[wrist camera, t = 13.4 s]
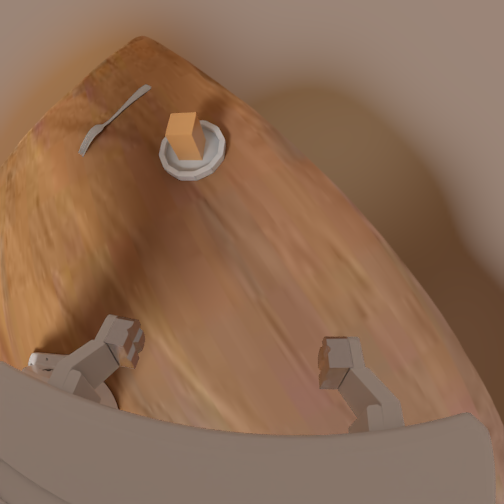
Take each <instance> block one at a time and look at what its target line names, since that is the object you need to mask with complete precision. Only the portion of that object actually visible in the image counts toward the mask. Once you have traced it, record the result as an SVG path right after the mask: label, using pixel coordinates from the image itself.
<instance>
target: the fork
mask: <svg viewBox="0 0 504 504" xmlns="http://www.w3.org/2000/svg"><path fill="white" fill-rule="evenodd" d="M150 89H151V87H150V86H149V85H147V84H146V85H143V86H142V87H141V88H139V89H138V90H137V91H136V92H135V93H134V94H133V95H132V96H131V97H130V98H129V99H128V100H127V102H126V103H125V104H124V105H123V106H122V107H121V108H120V109H119V110H118V111H117V112H116V113H115V114H114V115H113V116H112V117H111V118H110V119H109V120H108V121H107V122H106V123H104V124H101V125H95V126H94V127H92V128H91V129H90V130H89V132H88V133H87V135H86V137H85V138H84V141H83V143H82V145H81V147H80V150H81V148H82V150H83V151H82V150H81V152H82V154H83V156H84V154H85V152H86V150H87V148H88V146H89V145H90V143H91V141H92V140H93V138H94V137H95V136H96V135H97V134H98V133H99V132H101V131H102V130H103V128H104V127H105V126H106V125H107V124H109V123H110V122H111V121H112V120H113V119H114V118H115V117H117V116H118V115H119V114H120V113H121V112H122V111H123V110H124V109H125V108H126V107H128V106H129V105H130V104H131V103H132V102H134V101H135V100H136V99H138V98H139V97H140V96H142V95H143V94H144V93H146V92H147V91H149V90H150ZM88 135H89V136H88ZM91 137H92V138H91ZM86 138H87V139H86ZM85 140H86V141H85ZM87 140H88V141H87ZM89 140H90V141H89ZM84 142H85V143H84ZM86 142H87V143H86ZM88 142H89V143H88ZM83 144H84V145H83ZM85 144H86V145H85ZM87 144H88V145H87ZM82 146H83V147H82ZM84 146H85V147H84ZM86 146H87V147H86ZM83 148H84V149H83ZM85 148H86V149H85ZM80 150H79V152H80ZM84 150H85V151H84ZM81 152H80V154H81ZM83 152H84V153H83ZM82 154H81V155H82ZM83 156H82V157H83Z"/></svg>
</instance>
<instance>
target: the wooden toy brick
mask: <svg viewBox="0 0 504 504" xmlns="http://www.w3.org/2000/svg"><path fill="white" fill-rule="evenodd" d="M165 136H166V138H167V140H168V141H169V143H170V145H171V147H172V148H173V150H174V152H175V154H176V155H177V157H178V159H179V160H203V154H204V148H205V142H206V139H205V136H204V133H203V130H202V127H201V124H200V121H199V118H198V115H197V112H192V113H171V115H170V118H169V122H168V126H167V129H166V133H165Z"/></svg>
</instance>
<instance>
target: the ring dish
mask: <svg viewBox="0 0 504 504" xmlns="http://www.w3.org/2000/svg"><path fill="white" fill-rule="evenodd" d="M199 121H200V124H201V127H202V130H203V133H204V136H205V139H206V142H205V148H204V154H203V160H179V159H178V157H177V155H176V154H175V152H174V150H173V148H172V147H171V145H170V143H169V141H168V140H167V138H166V136H165V138H164V139H163V141H162V143H161V147H160V151H159V157H160V160H161V162H162V165H163V167H164V169H165V170H166V172H167V173H169V174H170V175H172V176H173V177H175V178H177V179H178V180H190V181H196V180H199V179H201V178H203V177H205V176H208V175H210V174H212V173H213V172H214V171H215V170H216V169H217V168H218V166H219V165H220V164H221V163H222V161H223V160H224V157H225V150H226V141H225V138H224V136H223V135H222V133H221V131H220V129H219V127H217V126H215V125H213V124H211V123H209V122H207V121H205V120H199Z"/></svg>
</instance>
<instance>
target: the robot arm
mask: <svg viewBox="0 0 504 504" xmlns="http://www.w3.org/2000/svg"><path fill="white" fill-rule="evenodd" d="M140 325H141V324H140V322H139V320H136V319H131V318H126V317H121V316H116V315H111V314H109V315H108V316H107V317H106V319H105V320H104V322H103V324H102V326H101V328H100V330H99V332H98V334H97V336H96V337H95V339H94V340H90V341H89V342H87V343H86V344H84V345H83V346H82V347H80V348H79V349H77V350H76V351H74V352H73V353H71V354H70V355H62V354H51V353H41V352H34V353H32V354H31V356H30V359H29V363H28V366H27V367H24V368H23V370H22V371H20V370H18V369H16V368H14V367H13V366H11V365H9V364H7V363H5V362H3V361H0V504H495V498H496V479H495V464H494V456H493V449H492V443H491V438H490V434H489V431H488V429H487V428H486V427H485V426H484V425H483V424H482V423H481V422H480V421H479V420H478V419H477V418H476V417H474V416H473V415H472V414H471V413H467V412H466V413H461V414H457V415H454V416H450V417H446V418H442V419H438V420H434V421H429V422H425V423H420V424H415V425H410V426H405V425H404V420H403V414H402V409H401V404H400V401H399V400H398V399H397V398H396V397H395V396H394V394H393V393H392V392H391V391H390V390H389V389H388V388H387V387H386V386H385V385H384V384H383V383H382V382H381V381H380V380H379V378H378V377H377V376H376V375H375V374H374V373H373V372H372V371H371V370H370V369H369V368H365V364H364V359H363V354H362V349H361V344H360V339H359V338H358V337H324V338H323V341H322V344H323V346H322V347H321V348H320V350H319V354H318V368H319V369H320V370H321V372H320V374H319V387H320V389H338V391H339V392H340V394H341V395H342V397H343V398H344V399H345V401H346V402H347V404H348V405H349V407H350V408H351V409H352V411H353V412H354V414H355V415H356V416H357V419H356V420H355V421H354V423H353V424H352V425H351V426H350V427H349V428H348V429H349V433H348V434H332V435H268V434H252V433H240V432H230V431H221V430H214V429H206V428H200V427H194V426H188V425H182V424H177V423H172V422H167V421H162V420H158V419H153V418H149V417H145V416H141V415H137V414H133V413H130V412H126V411H123V410H119V409H118V407H117V403H116V401H115V399H114V396H113V395H112V393H111V391H110V390H109V388H108V387H107V385H106V384H105V383H104V382H103V381H104V380H106V379H107V378H108V377H109V376H110V375H111V374H112V373H113V372H114V371H115V370H117V369H118V368H119V366H122V367H127V368H132V369H135V368H136V365H137V363H138V360H139V356H138V353H139V352H140V351H142V349H143V347H144V342H145V336H144V332H143V331H142V330H141V329H140Z"/></svg>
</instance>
